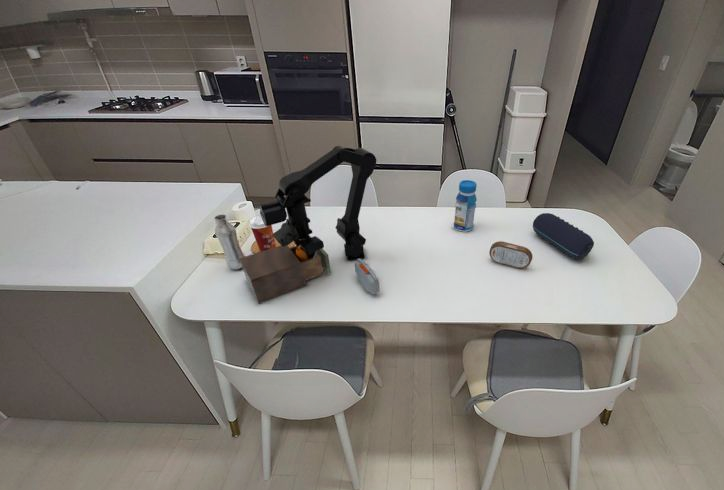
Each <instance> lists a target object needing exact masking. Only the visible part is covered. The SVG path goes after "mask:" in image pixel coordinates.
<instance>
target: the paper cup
mask: <svg viewBox="0 0 724 490" xmlns="http://www.w3.org/2000/svg"><path fill="white" fill-rule="evenodd" d="M248 226H249V228H250V229H251V231H252V234H253V237H254V239H255V242H256V245H257V247H258V250H259V252H262V251H265V250H268V249H271V248H275V247H277V246H276V239H275V238H274V236H273V234H274V230H273V225H269V226H265V224H264V223H263V220H262V218H261V215H258V216H254V217H252V218H251V219H250V220H249V224H248Z"/></svg>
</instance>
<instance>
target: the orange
mask: <svg viewBox="0 0 724 490" xmlns="http://www.w3.org/2000/svg"><path fill="white" fill-rule="evenodd" d="M300 247H301V245H299V246H298V247H297V249H296V256H297V257H298V259H300V260H301V261H305V260H308V258H307V255H306V253H305V252H304V251H302V250H301V249H300ZM314 256H315V255H314Z"/></svg>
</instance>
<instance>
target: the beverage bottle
mask: <svg viewBox="0 0 724 490" xmlns="http://www.w3.org/2000/svg"><path fill="white" fill-rule="evenodd" d="M477 186H478V185H477V182H476V181H474V180H471V179H463V180H461V181H459V183H458V191H459V192H458V194H457V195H456V197H455V203H454V206H455V209H454V222H453V228H454V229H455V230H456V231H459V232H463V233H464V232H466V233H467V232H471V230H473V228H474V220H475V212H476V208H477V203H476V202H477V196H476V191H477Z"/></svg>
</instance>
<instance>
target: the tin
mask: <svg viewBox="0 0 724 490" xmlns="http://www.w3.org/2000/svg"><path fill="white" fill-rule="evenodd" d="M489 257H490V259H491V260H492V261H493V262H495V263H496V264H500V265H504V266H508V267H512V268H515V269H526V268H528V267H529V266H530V264H531V263H532V261H533V257H534V255H533V253H532V251H531V250H530V249H529V248H528V247H526V246H523V245H519V244H515V243H510V242H506V241H502V240H500V241H496V242H493V243H492V244H491V245H490V248H489Z"/></svg>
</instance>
